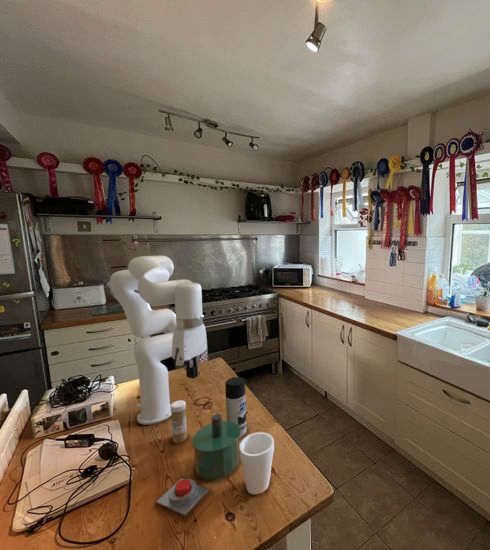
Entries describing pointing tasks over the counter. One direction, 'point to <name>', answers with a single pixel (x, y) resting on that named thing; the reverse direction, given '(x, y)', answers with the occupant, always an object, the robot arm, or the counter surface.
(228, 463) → the green pot
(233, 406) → the spray can
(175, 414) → the sprinkles bottle
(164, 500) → the grey mounting plate
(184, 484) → the button
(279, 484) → the counter surface
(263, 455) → the foam cup
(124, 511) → the counter surface
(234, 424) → the pot lid
